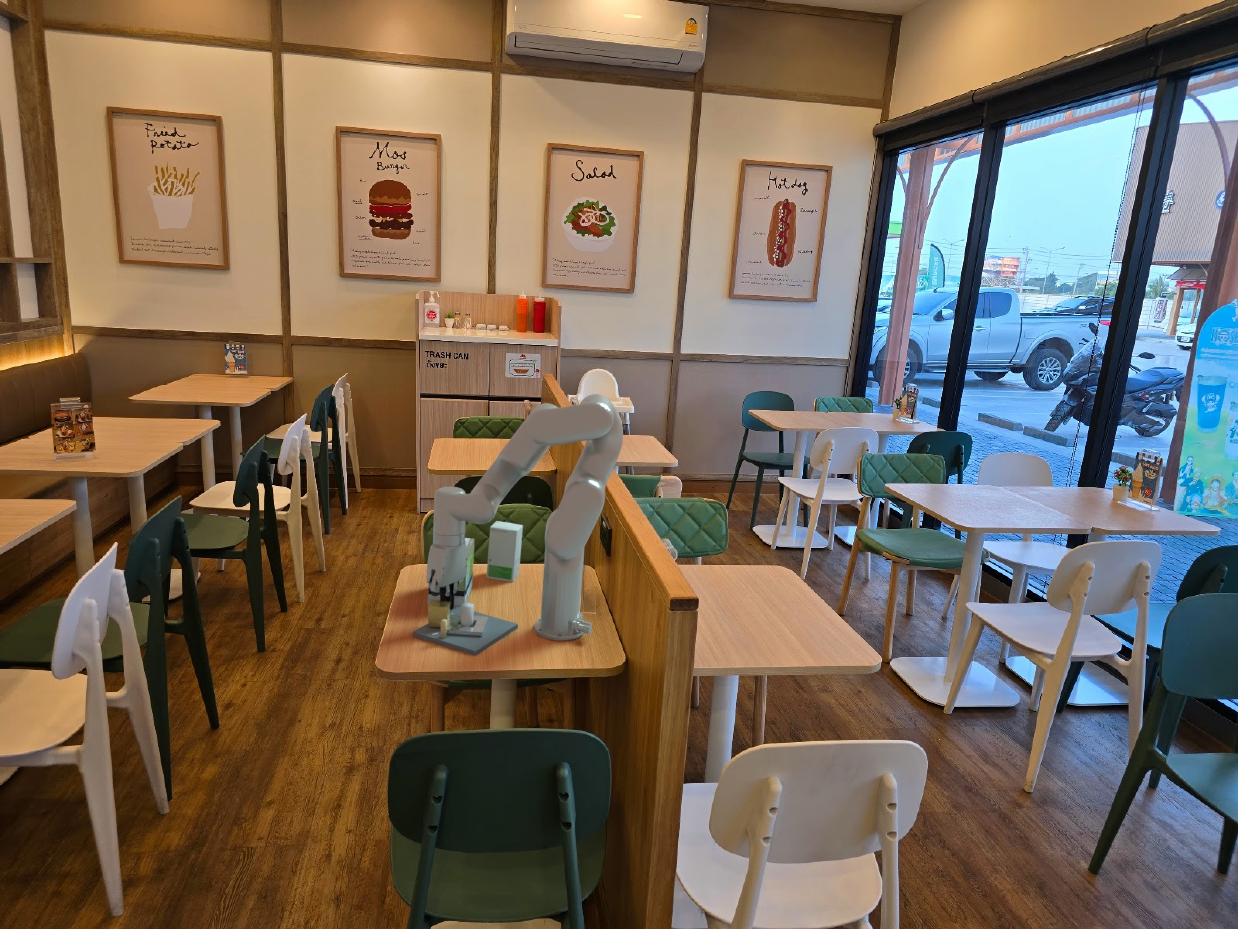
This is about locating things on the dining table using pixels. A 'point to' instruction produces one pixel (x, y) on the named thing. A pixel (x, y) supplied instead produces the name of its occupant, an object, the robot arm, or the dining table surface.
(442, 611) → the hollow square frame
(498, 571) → the skincare box
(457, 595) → the tea box
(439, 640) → the post board
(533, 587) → the dining table surface
